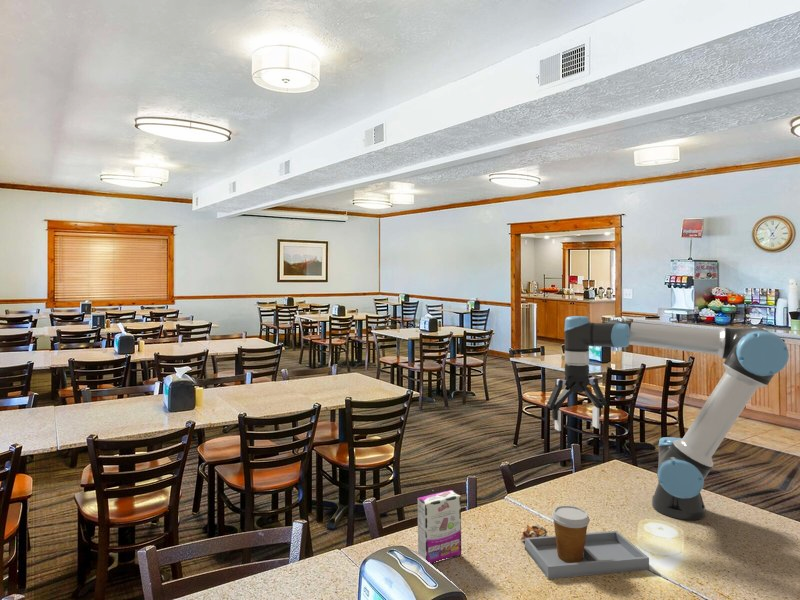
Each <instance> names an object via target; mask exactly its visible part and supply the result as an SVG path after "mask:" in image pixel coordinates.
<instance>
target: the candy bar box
mask: <svg viewBox="0 0 800 600" xmlns="http://www.w3.org/2000/svg"><path fill="white" fill-rule="evenodd" d="M461 497H462V496H461V495H460V494H458V493H457V492H456V491H454V490H451V489H449V490H445V491H441V492H437V493H432V494H428V495H425V496H420V497H417V502H416V503H417V541H418V542H417V551H418V552H417V553H418V554H420V555H421V556H423V557H424V558H425V559H426V560H427V561H428V562H430V563H432V564H431V565H433V563H434V562H436V561H439V560H442V559H446V558H450V557H453V558H456V557H455V556H457V557H459V556H458V555H460V556H462V502H461V501H462V499H461ZM418 554H417V555H418ZM450 559H451V558H450ZM434 564H435V563H434Z"/></svg>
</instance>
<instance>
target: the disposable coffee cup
mask: <svg viewBox="0 0 800 600" xmlns="http://www.w3.org/2000/svg"><path fill="white" fill-rule="evenodd" d="M551 518H552V519H553V526H554V527H553V528H554V536H556V545H557V553H558V557H559V558H560V559H561V560H563V561H565V562H569V563H577V562H581V561H582V559H583V553H584V546H585V539H586V533H588V532H587V531H588V525H589V524H590V519H591V518H589V514H588V512H587V511H586V510H585V509H583V508H581V507H578V506H574V505H568V504H567V505H566V504H565V505H564V504H563V505H558V506H556V507H554V509H553V511H552V512H551Z"/></svg>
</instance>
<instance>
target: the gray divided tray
mask: <svg viewBox="0 0 800 600" xmlns="http://www.w3.org/2000/svg"><path fill="white" fill-rule="evenodd" d="M524 549H525V551H526V552H527V554H528V555H529V556H530V557H531V559H532V560H533V561H534V563H535V564H536V565H537V566H538V568H539V570H541V572H542V573H543V574H544V576H545V577H546V578H547V579H560V578H570V577H571V578H573V577H583V576H584V577H585V576H591V575H604V574H614V573H625V572H637V571H646V570H649V569H650V557H649V556H648V555H646V554H645V553H644V552H643V551H642V550H640V548H638V547H637V546H636V545H634V543H632V542H631V541H629V539H627V538H626V537H625V536H623V535H622V534H621V533H620V532H619V531H617V530H610V531H608V530H607V531H599V532H598V531H597V532H587V533H586V539H585V546H584V553H583V559H582V561H581V562H577V563H569V562H565V561H563V560H561V559H560V558H559V557H558V553H557V545H556V536H555V535H546V536H545V537H532V538H525V541H524Z"/></svg>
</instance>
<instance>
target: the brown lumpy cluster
mask: <svg viewBox="0 0 800 600" xmlns="http://www.w3.org/2000/svg"><path fill="white" fill-rule="evenodd" d="M546 530H547V529H546V527H543V526H540V525H539V524H533V525H532V526H530V525H529V523H526V530H524V531H523V532H522V535H521V541H524V542H525V538H532V537H545V536H547V531H546Z"/></svg>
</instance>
